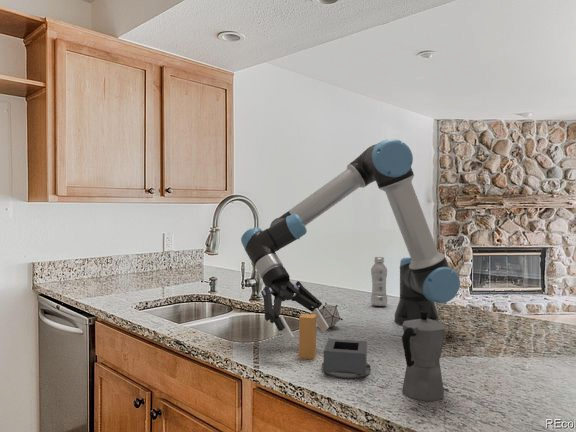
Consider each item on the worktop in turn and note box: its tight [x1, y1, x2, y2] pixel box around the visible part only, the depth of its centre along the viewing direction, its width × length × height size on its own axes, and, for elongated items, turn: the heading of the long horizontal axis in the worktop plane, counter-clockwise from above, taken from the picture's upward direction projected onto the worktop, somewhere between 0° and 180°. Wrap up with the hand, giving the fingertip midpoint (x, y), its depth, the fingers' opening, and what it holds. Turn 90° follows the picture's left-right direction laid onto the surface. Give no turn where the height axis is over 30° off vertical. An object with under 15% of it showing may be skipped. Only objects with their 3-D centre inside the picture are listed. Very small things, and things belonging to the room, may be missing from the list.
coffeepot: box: [401, 311, 446, 402], centre depth 96 cm, size 15×9×18 cm, turn 137°
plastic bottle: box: [370, 256, 388, 308], centre depth 181 cm, size 6×7×20 cm
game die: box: [319, 301, 344, 331], centre depth 149 cm, size 9×8×10 cm
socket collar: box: [321, 338, 371, 380], centre depth 111 cm, size 12×12×6 cm
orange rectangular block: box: [298, 313, 317, 360], centre depth 121 cm, size 4×4×11 cm
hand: (309, 334), depth 120 cm, fingers open, 13 cm apart
